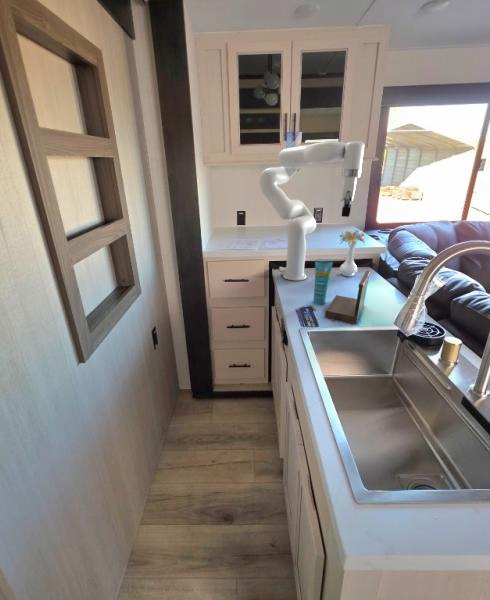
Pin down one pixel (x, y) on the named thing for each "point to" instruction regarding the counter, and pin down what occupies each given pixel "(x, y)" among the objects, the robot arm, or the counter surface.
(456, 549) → the counter surface
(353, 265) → the flower vase
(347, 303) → the dark wooden bookend
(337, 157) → the robot arm
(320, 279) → the tube
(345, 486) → the counter surface
